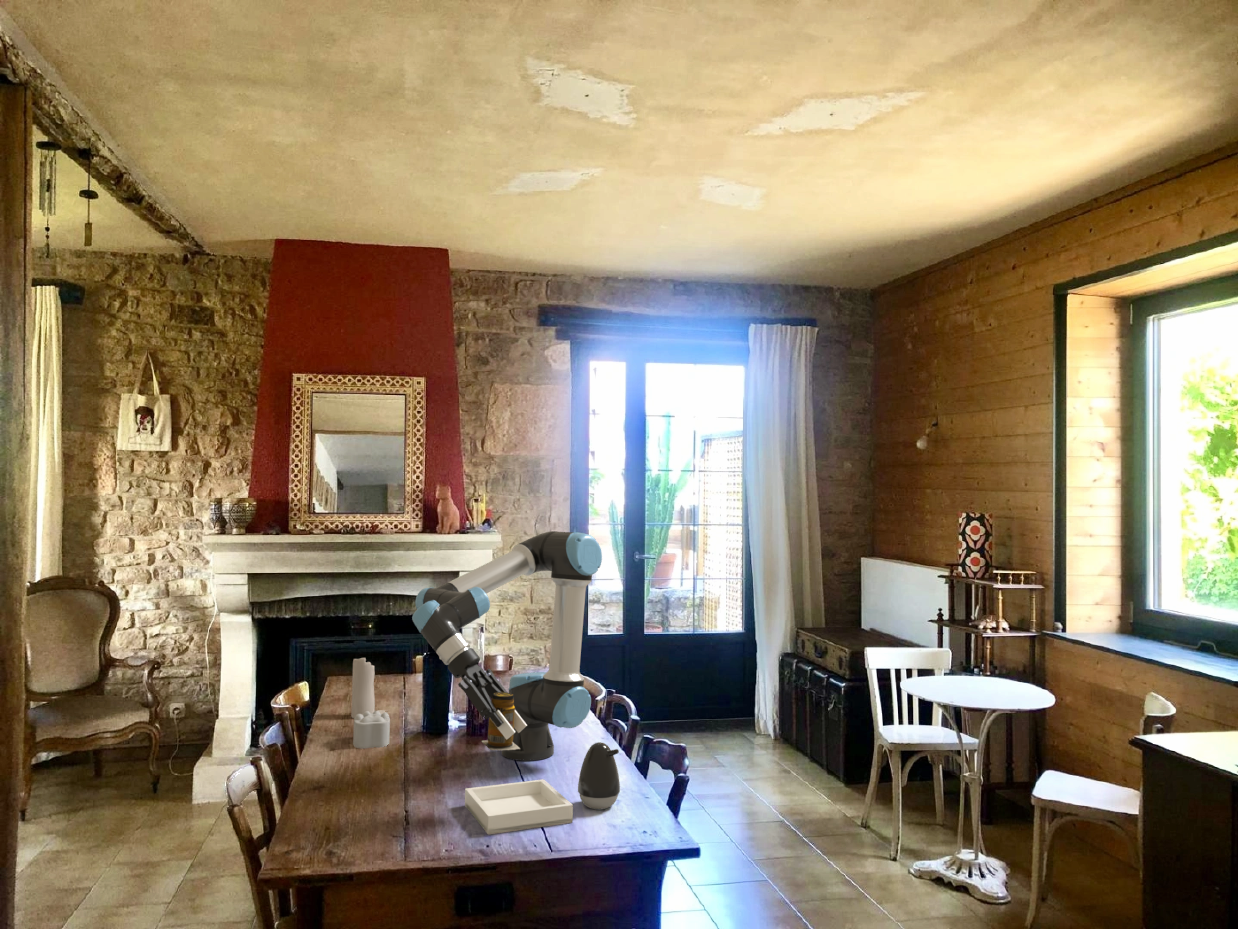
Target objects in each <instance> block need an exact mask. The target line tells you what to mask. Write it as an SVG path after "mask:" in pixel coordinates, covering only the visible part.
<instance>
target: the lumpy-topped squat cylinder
mask: <svg viewBox="0 0 1238 929" xmlns="http://www.w3.org/2000/svg"><path fill="white" fill-rule="evenodd" d="M390 725H391V718H390V715H389V713H388V712H386V713H382V714H380V712H379V711H377V710H375V711H374V712H373V713H370V712H369V711H366V712H364V713H363V714H357V715H356V717H355V718H353V734H352V736H353V738H352V739H353V741H352V745H353V746H354V747H355V748H356V749H372V748H373V749H374V747H376V748H384V746H385V747H387V745H388V744H389V745H390V735H391V734H390V728H391V726H390ZM389 745H388V746H389Z"/></svg>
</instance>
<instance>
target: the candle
mask: <svg viewBox="0 0 1238 929" xmlns="http://www.w3.org/2000/svg"><path fill="white" fill-rule="evenodd" d="M366 661H367V659H366V657H361V658H353V661H352V680H351V681H352V682H351V712H350V715H351V716H350V717H351V718H352V719H354V718H355V717H356V715H357V714H363V713H364V712H366V711H369V712H370V713H373V712H374V711H379V712H380V714H382V713H387V712H385V711H386V710H385V709H382V710H381V709H379V710H378V709H377V710H376V706H375V705H376V700H375V698H376V697H375V687H374V685H375V684H374V683H375V682H374V681H375V675H376V674H375V665H373V664H372V663H371V662H370V661H367V662H366Z"/></svg>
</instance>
